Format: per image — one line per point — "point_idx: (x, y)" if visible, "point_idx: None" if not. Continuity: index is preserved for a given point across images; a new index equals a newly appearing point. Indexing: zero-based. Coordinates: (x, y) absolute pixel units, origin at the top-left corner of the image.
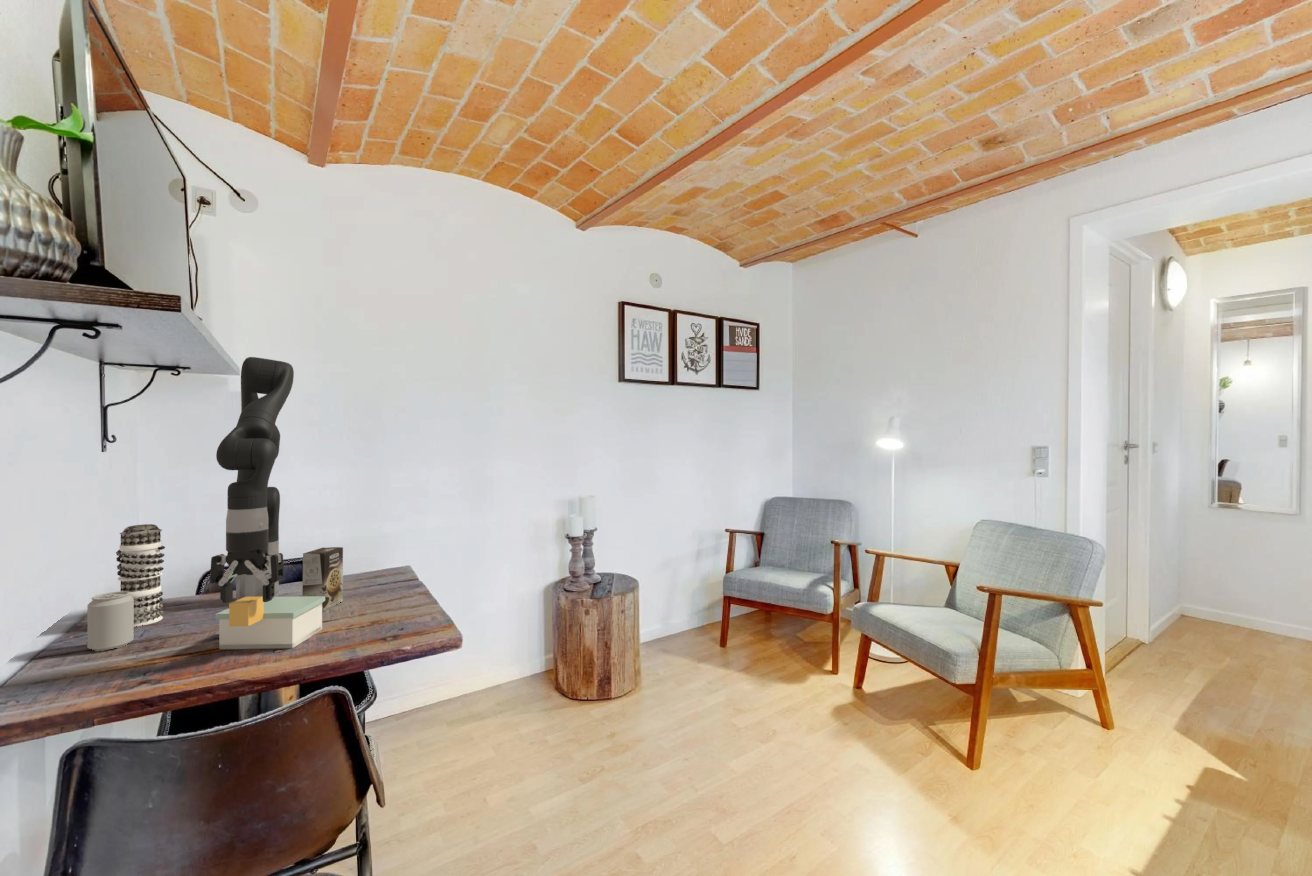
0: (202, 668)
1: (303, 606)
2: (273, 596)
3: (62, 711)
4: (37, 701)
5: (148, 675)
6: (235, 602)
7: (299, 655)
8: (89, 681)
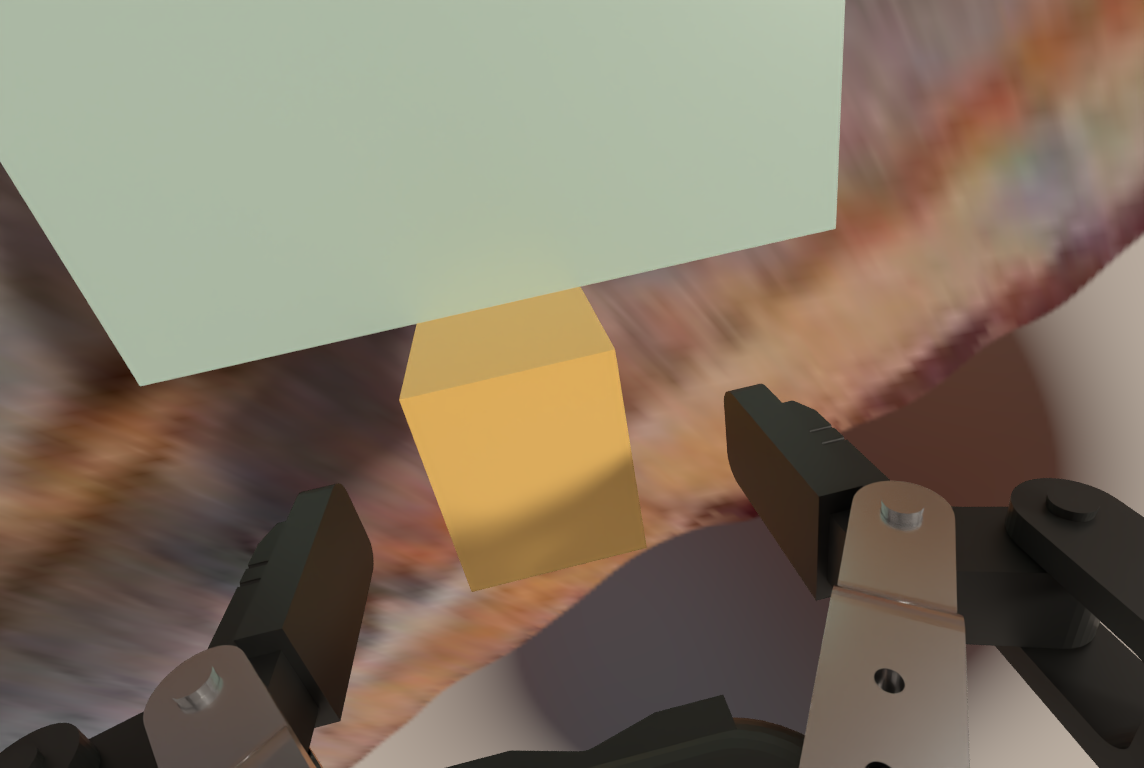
0: None
1: (824, 13)
2: (804, 414)
3: (355, 748)
4: None
5: None
6: (504, 563)
7: (800, 256)
8: (120, 642)
